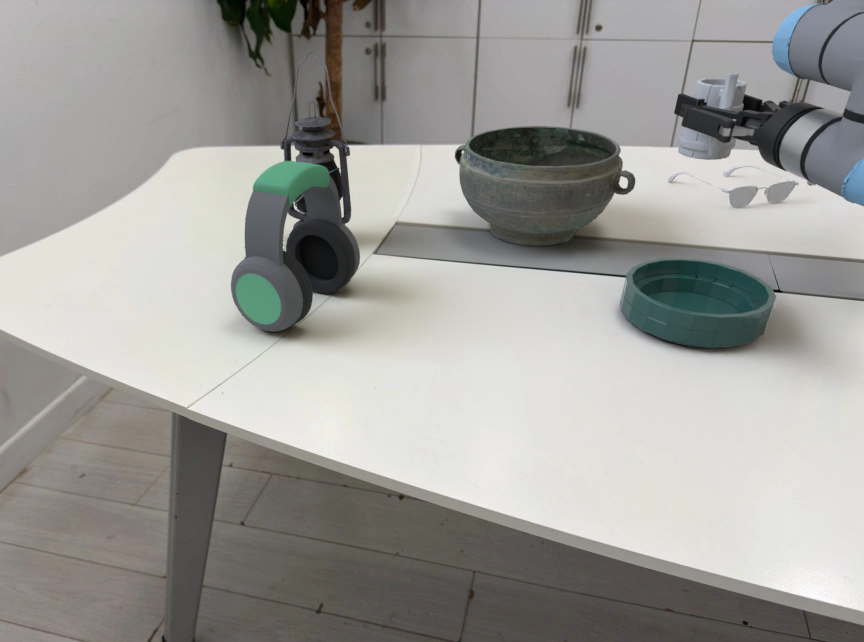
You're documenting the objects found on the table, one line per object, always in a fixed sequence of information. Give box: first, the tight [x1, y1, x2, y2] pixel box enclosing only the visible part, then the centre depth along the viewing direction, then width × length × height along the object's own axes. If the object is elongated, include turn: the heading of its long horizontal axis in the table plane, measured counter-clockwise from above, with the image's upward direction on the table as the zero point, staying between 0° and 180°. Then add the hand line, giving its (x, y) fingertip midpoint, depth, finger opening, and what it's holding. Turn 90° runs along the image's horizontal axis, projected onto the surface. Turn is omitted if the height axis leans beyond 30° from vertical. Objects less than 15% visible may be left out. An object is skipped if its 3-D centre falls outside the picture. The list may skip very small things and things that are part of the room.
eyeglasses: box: [667, 164, 800, 208], centre depth 131 cm, size 15×18×4 cm
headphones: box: [230, 160, 361, 333], centre depth 90 cm, size 19×11×20 cm, turn 151°
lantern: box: [279, 49, 352, 229], centre depth 108 cm, size 12×11×30 cm
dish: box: [619, 257, 777, 349], centre depth 88 cm, size 18×18×5 cm
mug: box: [677, 72, 748, 161], centre depth 95 cm, size 8×12×12 cm, turn 165°
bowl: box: [454, 125, 636, 247], centre depth 114 cm, size 32×26×15 cm
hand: (704, 102), depth 99 cm, fingers closed on mug, 7 cm apart
